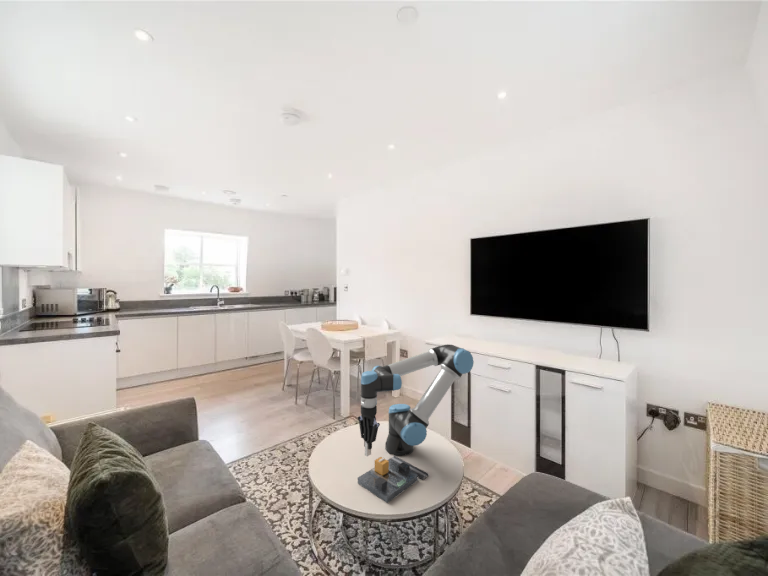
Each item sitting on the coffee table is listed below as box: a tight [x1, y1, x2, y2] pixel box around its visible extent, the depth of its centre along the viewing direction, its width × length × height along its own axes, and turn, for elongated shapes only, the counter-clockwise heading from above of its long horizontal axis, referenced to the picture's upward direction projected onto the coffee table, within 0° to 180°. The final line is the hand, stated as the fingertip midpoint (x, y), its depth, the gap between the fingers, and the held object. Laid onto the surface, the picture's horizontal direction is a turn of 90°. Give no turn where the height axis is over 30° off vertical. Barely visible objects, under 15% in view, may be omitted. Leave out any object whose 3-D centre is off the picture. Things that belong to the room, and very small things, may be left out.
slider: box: [374, 456, 389, 476], centre depth 144 cm, size 4×5×6 cm
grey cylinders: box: [389, 455, 429, 480], centre depth 151 cm, size 5×21×1 cm, turn 46°
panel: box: [357, 458, 419, 504], centre depth 141 cm, size 20×18×6 cm
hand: (367, 454), depth 150 cm, fingers closed
